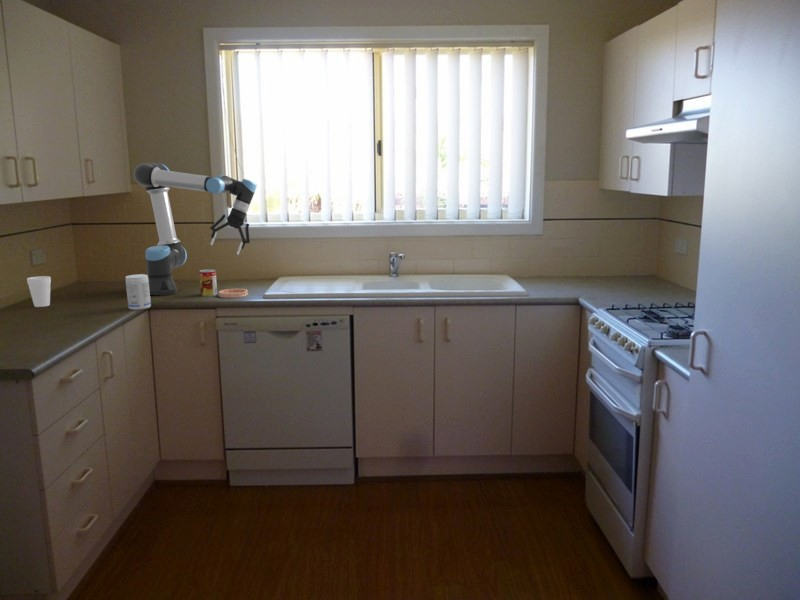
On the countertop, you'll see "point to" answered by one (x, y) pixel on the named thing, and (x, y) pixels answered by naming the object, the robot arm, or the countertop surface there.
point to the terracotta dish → (233, 293)
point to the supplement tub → (138, 292)
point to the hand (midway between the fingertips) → (224, 249)
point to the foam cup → (40, 290)
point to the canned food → (208, 282)
